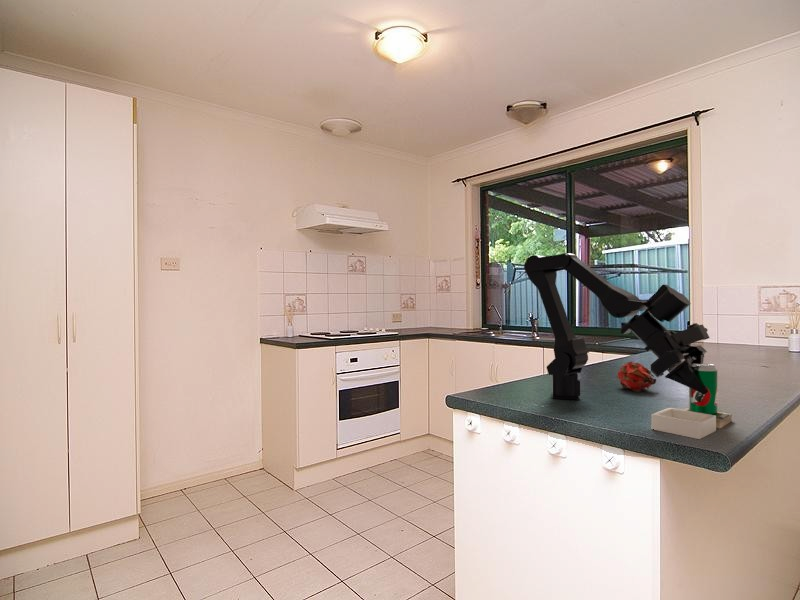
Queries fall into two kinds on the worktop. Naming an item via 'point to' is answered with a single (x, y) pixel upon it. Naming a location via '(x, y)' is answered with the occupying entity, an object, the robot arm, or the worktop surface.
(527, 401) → the worktop surface
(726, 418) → the checker cradle
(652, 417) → the bin
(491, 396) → the worktop surface
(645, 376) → the dragon fruit
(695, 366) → the soda can
